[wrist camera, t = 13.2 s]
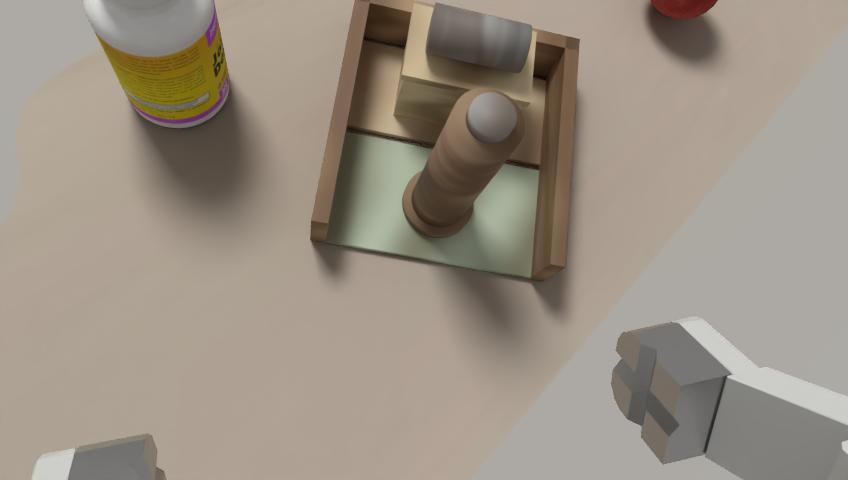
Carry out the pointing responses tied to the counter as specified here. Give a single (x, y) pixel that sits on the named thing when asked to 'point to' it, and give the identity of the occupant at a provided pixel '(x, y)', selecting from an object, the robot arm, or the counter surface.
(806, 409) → the robot arm
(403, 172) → the bay
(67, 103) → the counter surface
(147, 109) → the supplement bottle
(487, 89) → the brown wooden pepper mill
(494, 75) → the block with grey roller
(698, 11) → the onion
